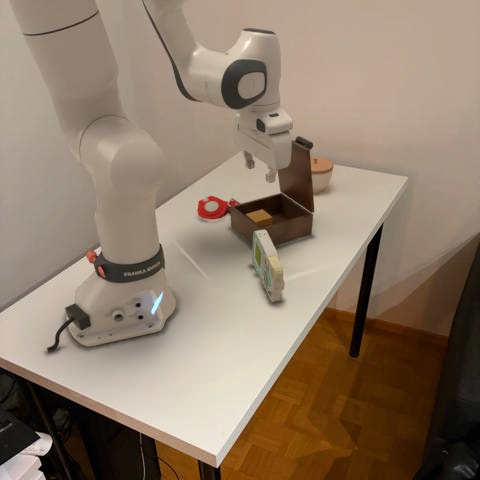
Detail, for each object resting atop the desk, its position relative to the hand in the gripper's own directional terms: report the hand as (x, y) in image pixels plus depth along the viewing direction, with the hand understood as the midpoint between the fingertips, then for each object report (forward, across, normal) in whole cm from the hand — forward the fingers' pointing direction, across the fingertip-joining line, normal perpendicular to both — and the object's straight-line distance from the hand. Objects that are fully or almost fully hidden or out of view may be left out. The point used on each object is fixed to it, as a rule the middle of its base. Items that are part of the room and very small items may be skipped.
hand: (259, 174), depth 114 cm
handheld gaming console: (+16, +19, -10) cm, 27 cm away
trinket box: (+17, -16, +28) cm, 37 cm away
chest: (+16, 0, +3) cm, 17 cm away
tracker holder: (+17, -16, -4) cm, 23 cm away
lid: (+2, 0, +9) cm, 9 cm away
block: (+16, 0, 0) cm, 16 cm away
